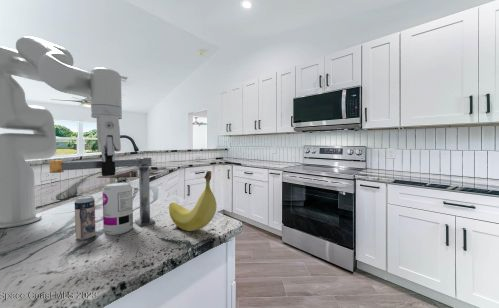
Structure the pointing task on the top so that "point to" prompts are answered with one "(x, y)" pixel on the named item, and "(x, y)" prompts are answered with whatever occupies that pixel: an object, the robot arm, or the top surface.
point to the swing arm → (95, 164)
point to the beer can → (85, 217)
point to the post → (144, 198)
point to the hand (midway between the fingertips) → (108, 175)
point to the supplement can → (117, 208)
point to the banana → (195, 210)
